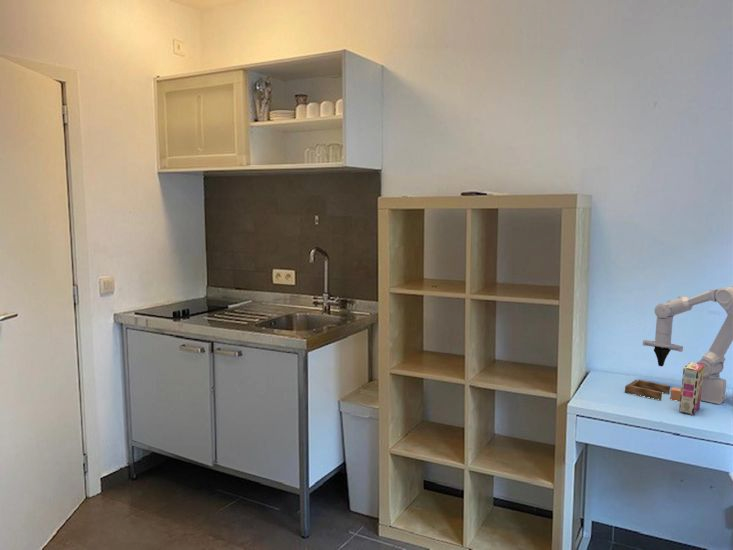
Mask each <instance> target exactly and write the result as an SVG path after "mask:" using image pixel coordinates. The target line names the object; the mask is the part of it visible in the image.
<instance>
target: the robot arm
mask: <svg viewBox="0 0 733 550" xmlns="http://www.w3.org/2000/svg"><path fill="white" fill-rule="evenodd" d="M706 302H715V303H716V302H717V303H718V304H719V305H720V307H722V309H724V310H725V312H726V314H727V316H726V318H725V319H724V322H722V323H723V324H722V325H721V326H720V328H719V330H718V333H717V334H716V336H715V338H714V340H713V342H712V343H711V346H710V348H709V350H708V351H707V352H706V353H705V354H704V355H703V356H702V357H701V358H700V359H699V361H697V362H696V363H699V364H704V371H703V381H702V390H701V399H700V401H703V402H707V403H711V404H716V405H721V404H722V403H723V402H724V401H725V400H726V389H727V380H726V379H725V378H721V377H720V373H722V372H723V370H724V363H725V360H726V358H725V355H726V353H727V351H728V349H729V348H730V346H731V344H732V342H733V285H732V286H728V287H721V288H716V289H710V290H708V291H705V292H702V293H699V294H697V295H695V296H692V297H688V296H683V295H680V296H677V298H675V299H673V300H671V299H670V300H669V299H668V300H666V302H665V303H659V304H657V305H656V306H655V308H654V314H655V316H656V321H655V322H656V323H655V337H654V340H647V339H644V340H642V346H647V347H653V351H654V354H655V357H656V359H657V365H658V367H664V364H665V362H666V359H667V357H668V356H669V354H670V352H671V351H676V352H680V353H681V352H683V350H684V346H683V345H678V344H673V343H672V331H673V322H674V321H673V320H674V317H675V316H677V315H680V314H683V313H685V312H689V311H691V310H692V309H693V307H694V306H697V305H700V304H703V303H706Z"/></svg>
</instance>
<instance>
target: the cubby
mask: <svg viewBox="0 0 733 550" xmlns="http://www.w3.org/2000/svg"><path fill="white" fill-rule="evenodd" d="M625 392H626V394H629V393H631V394H630V395H633V394H636V395H635V396H638V395H641V396H640V397H642V396H645V397H644V398H647V397H650V398H649V399H651V398H654V399H653V400H655V399H659V400H658V401H662V396H663V395H662V394H665V393H668V394H667V395H670V394H671V385H667V384H662V383H657V382H652V381H648V380H644V379H638V380H637V379H635V380H633V381H632V382H630V383H628V384H626V385H625V386H624V393H625ZM662 392H664V393H662ZM669 393H670V394H669Z"/></svg>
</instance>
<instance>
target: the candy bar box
mask: <svg viewBox="0 0 733 550" xmlns="http://www.w3.org/2000/svg"><path fill="white" fill-rule="evenodd" d="M682 371H683V372H682V379H681V380H682V381H681V398H680V401H679V409H678V412H679V413H682V414H685V415H690V416H694V415H695V413H696V412H697V411H698V410H699V409H700V407H701V400H700V399H701V390H702V381H703V371H704V364H699V363H697V362H691V361H690V362H689V363H688V364H686V365H684V367H683V369H682Z"/></svg>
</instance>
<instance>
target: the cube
mask: <svg viewBox="0 0 733 550" xmlns="http://www.w3.org/2000/svg"><path fill="white" fill-rule="evenodd" d="M681 388H682V387H681ZM681 388H680V387H674V386H672V388H670V399H672V400H671V401H674V400H677V401H676V402H680V398H681Z"/></svg>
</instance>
